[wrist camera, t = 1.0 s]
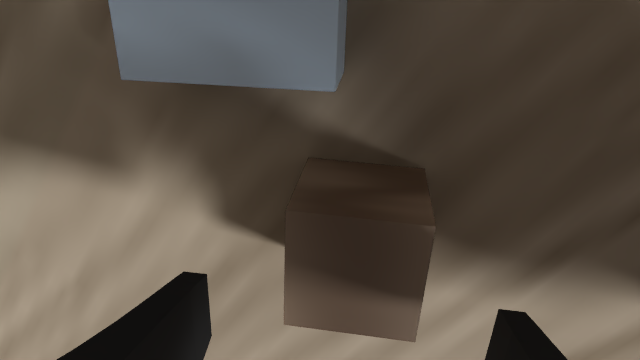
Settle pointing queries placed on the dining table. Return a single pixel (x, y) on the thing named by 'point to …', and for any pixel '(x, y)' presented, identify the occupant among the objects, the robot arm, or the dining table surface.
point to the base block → (232, 42)
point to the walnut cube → (358, 248)
